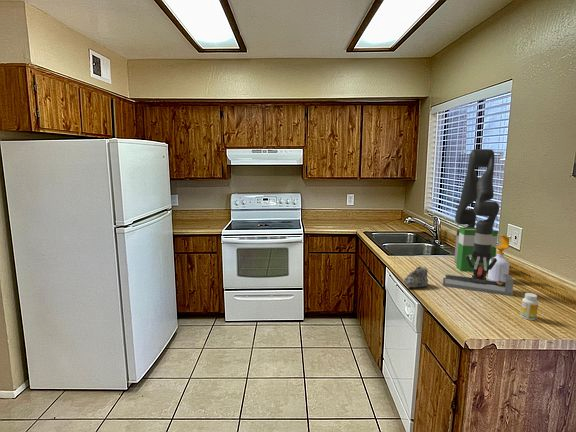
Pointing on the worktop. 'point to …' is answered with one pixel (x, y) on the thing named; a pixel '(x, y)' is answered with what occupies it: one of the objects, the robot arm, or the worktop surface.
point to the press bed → (489, 287)
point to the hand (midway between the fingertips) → (479, 276)
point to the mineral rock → (417, 278)
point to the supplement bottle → (529, 306)
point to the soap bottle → (500, 262)
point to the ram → (479, 276)
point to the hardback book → (471, 248)
